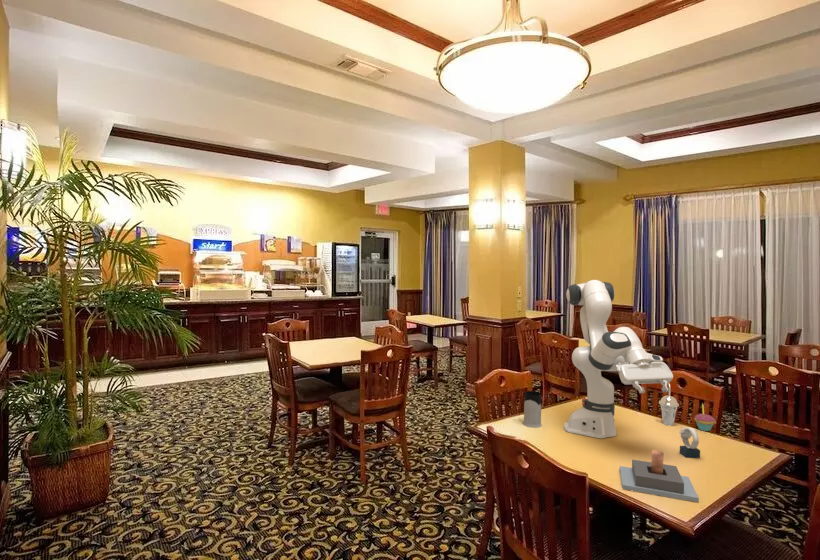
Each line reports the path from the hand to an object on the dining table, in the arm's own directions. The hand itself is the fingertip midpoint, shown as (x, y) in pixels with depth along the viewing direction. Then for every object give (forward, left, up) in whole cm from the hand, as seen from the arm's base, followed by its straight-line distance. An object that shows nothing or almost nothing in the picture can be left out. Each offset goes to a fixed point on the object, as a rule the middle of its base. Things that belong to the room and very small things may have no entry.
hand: (654, 392), depth 174 cm
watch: (+15, +14, -28) cm, 34 cm away
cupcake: (+28, +52, -28) cm, 65 cm away
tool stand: (-1, -20, -27) cm, 34 cm away
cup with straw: (+13, +53, -28) cm, 61 cm away
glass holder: (-47, +28, -28) cm, 61 cm away
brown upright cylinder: (-1, -20, -26) cm, 33 cm away
